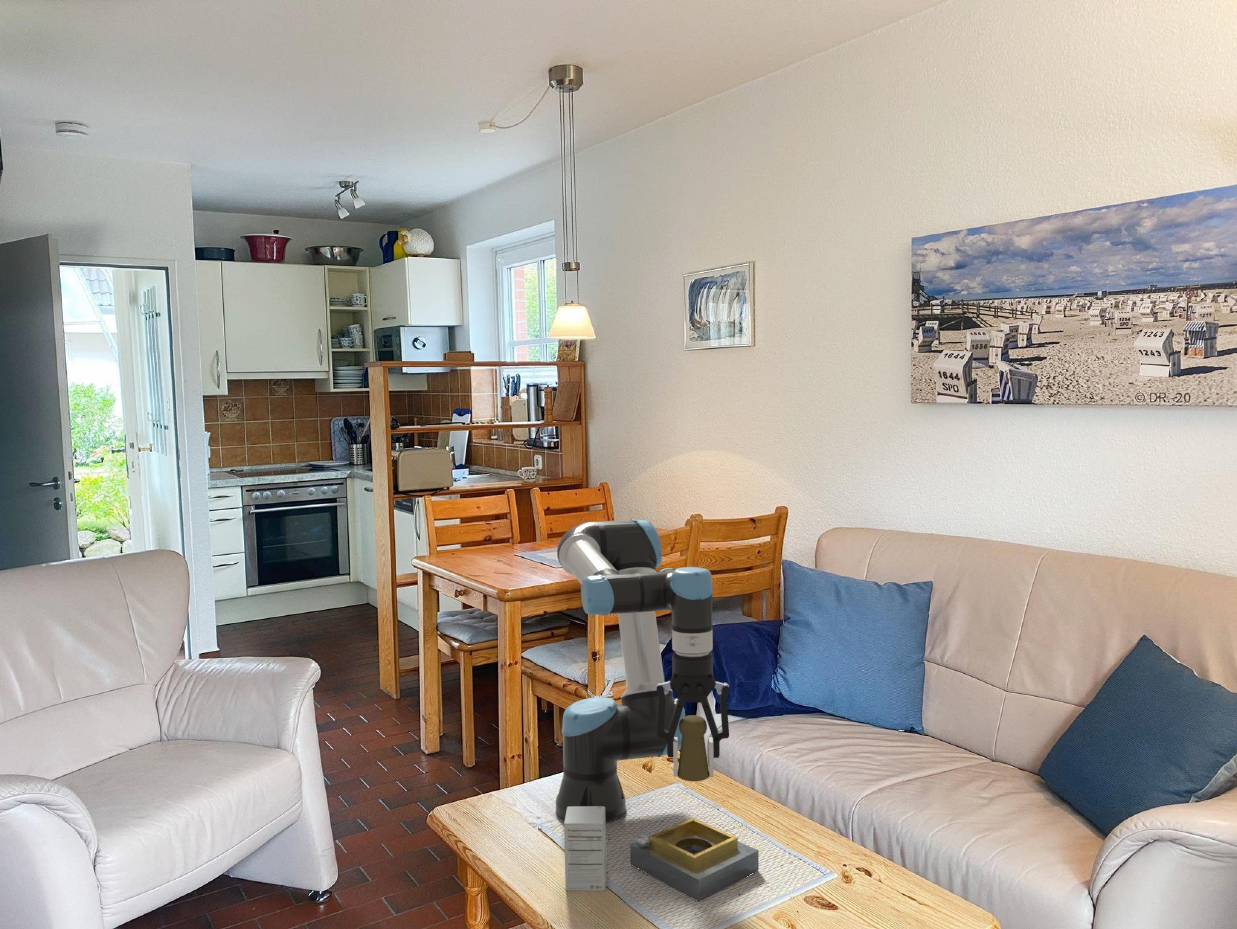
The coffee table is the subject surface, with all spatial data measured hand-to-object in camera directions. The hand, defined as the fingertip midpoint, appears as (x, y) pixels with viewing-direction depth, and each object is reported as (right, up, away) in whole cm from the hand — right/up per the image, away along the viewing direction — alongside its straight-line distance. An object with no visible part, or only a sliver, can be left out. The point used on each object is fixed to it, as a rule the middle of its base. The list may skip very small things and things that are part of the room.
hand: (693, 773), depth 172 cm
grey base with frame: (0, -18, +1) cm, 18 cm away
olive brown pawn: (0, 0, 0) cm, 0 cm away
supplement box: (-20, -19, -3) cm, 28 cm away
